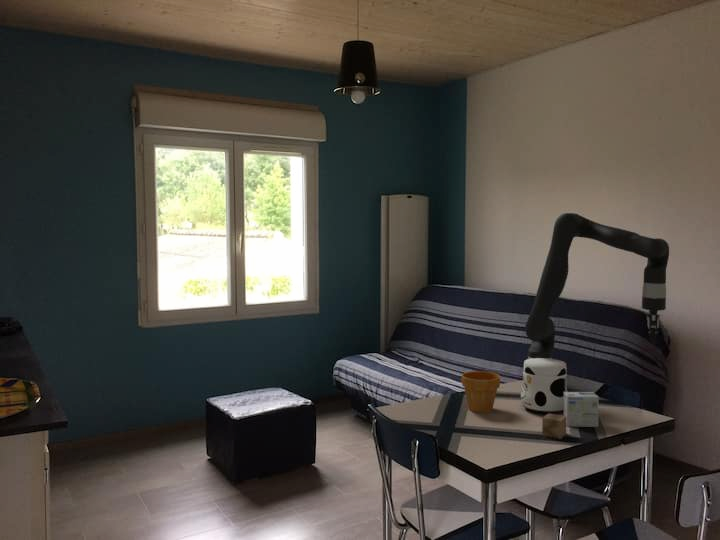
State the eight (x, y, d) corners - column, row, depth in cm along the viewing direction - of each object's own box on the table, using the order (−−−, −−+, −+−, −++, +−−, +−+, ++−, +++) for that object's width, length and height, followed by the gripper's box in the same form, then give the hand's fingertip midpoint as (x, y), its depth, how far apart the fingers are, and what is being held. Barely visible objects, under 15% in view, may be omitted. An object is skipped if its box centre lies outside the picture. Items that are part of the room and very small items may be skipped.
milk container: (511, 405, 236) (511, 359, 234) (549, 401, 241) (550, 356, 240) (538, 418, 219) (539, 369, 218) (578, 413, 225) (579, 365, 224)
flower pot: (507, 410, 229) (508, 376, 229) (481, 417, 221) (481, 382, 221) (480, 401, 241) (480, 369, 240) (453, 408, 233) (453, 374, 232)
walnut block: (542, 435, 202) (542, 418, 201) (548, 430, 206) (548, 413, 206) (560, 439, 198) (560, 421, 198) (566, 434, 203) (566, 416, 203)
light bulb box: (593, 421, 216) (594, 391, 215) (599, 427, 209) (599, 396, 208) (562, 420, 217) (562, 390, 216) (566, 426, 210) (567, 396, 209)
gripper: (642, 293, 221) (640, 337, 222) (642, 297, 208) (640, 344, 209) (665, 294, 218) (663, 339, 219) (666, 298, 205) (664, 346, 206)
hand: (652, 341), depth 214 cm, fingers open, 8 cm apart
